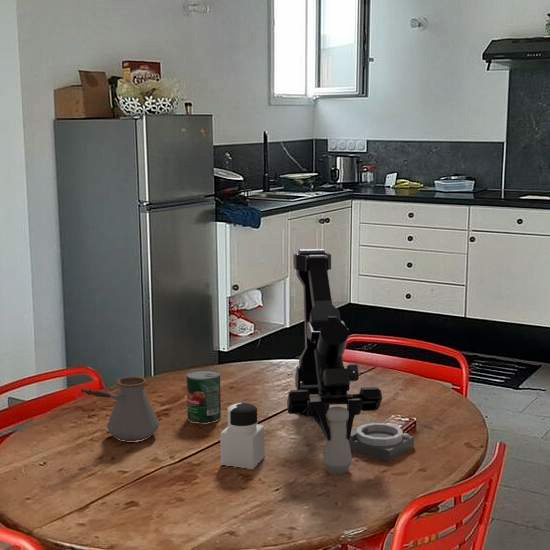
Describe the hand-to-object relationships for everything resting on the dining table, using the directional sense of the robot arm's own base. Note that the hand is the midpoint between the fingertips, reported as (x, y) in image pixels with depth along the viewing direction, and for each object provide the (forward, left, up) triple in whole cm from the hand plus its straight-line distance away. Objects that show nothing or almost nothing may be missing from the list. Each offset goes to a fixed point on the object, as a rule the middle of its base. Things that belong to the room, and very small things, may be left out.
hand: (338, 439), depth 168 cm
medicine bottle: (-19, -7, -7) cm, 21 cm away
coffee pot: (-47, -16, -7) cm, 50 cm away
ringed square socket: (0, +16, -7) cm, 18 cm away
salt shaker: (-1, +1, -7) cm, 7 cm away
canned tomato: (-43, +7, -7) cm, 44 cm away
